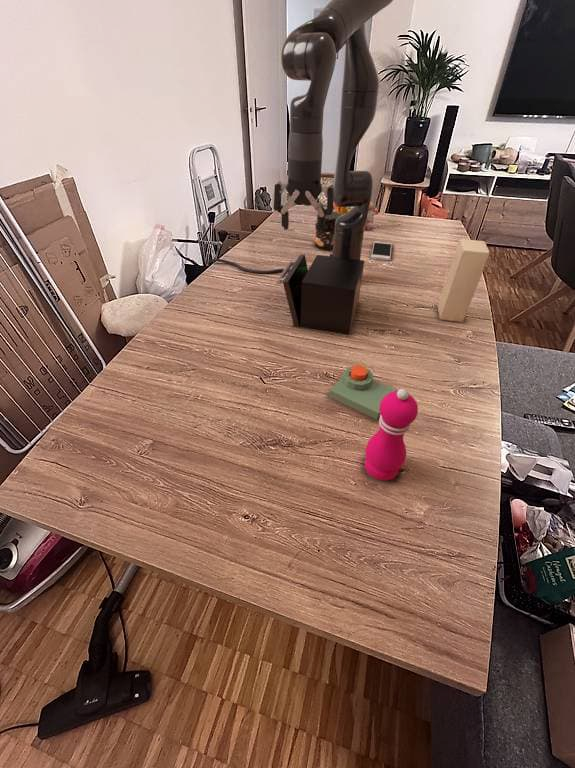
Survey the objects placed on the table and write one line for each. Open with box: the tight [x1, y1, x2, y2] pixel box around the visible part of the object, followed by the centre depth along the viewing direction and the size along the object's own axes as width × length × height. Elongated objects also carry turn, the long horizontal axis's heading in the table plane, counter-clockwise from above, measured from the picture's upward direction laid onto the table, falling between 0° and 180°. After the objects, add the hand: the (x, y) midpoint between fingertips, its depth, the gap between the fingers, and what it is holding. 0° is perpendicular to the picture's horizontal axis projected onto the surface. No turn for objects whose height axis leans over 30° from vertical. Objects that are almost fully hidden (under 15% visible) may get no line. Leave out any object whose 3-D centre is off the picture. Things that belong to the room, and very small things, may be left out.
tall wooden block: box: [437, 238, 490, 323], centre depth 105 cm, size 8×7×21 cm
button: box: [350, 364, 368, 381], centre depth 85 cm, size 4×4×2 cm
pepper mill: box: [364, 388, 419, 481], centre depth 65 cm, size 7×7×20 cm
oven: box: [299, 254, 365, 336], centre depth 107 cm, size 14×18×14 cm
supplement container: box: [313, 210, 341, 251], centre depth 146 cm, size 10×10×12 cm
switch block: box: [328, 365, 397, 421], centre depth 84 cm, size 12×10×4 cm
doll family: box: [333, 201, 380, 231], centre depth 161 cm, size 21×10×13 cm, turn 65°
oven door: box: [275, 254, 309, 327], centre depth 110 cm, size 4×18×14 cm, turn 164°
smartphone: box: [370, 240, 393, 261], centre depth 146 cm, size 7×16×1 cm, turn 166°
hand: (302, 230), depth 94 cm, fingers open, 8 cm apart
